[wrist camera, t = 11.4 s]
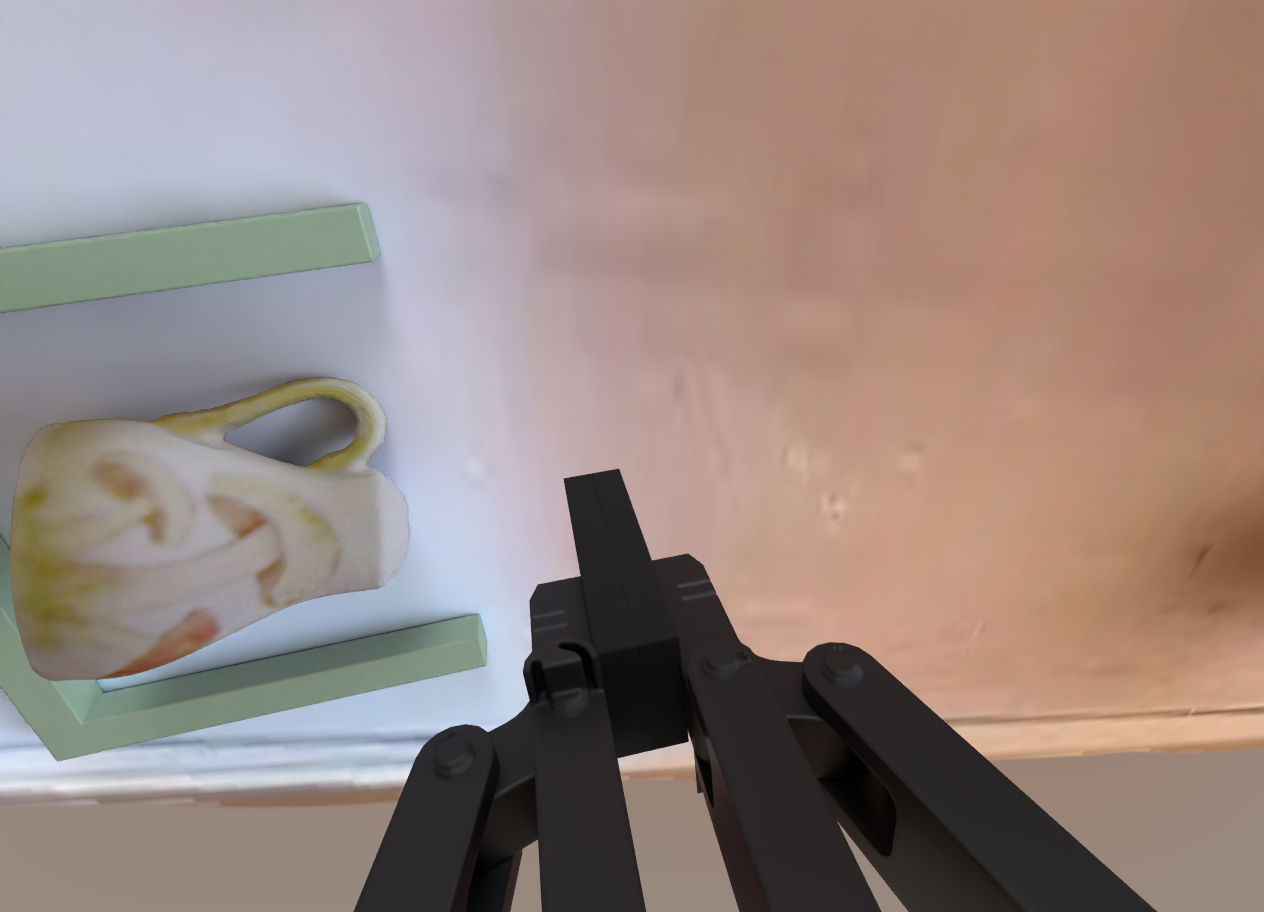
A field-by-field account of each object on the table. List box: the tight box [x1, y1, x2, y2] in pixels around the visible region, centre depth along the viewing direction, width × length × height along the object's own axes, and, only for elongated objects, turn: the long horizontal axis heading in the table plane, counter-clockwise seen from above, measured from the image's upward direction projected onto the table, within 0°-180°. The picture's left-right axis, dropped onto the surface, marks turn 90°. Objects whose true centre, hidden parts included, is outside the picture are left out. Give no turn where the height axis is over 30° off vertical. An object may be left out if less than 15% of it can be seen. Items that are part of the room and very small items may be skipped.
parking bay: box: [0, 203, 487, 761], centre depth 21 cm, size 16×17×2 cm
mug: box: [10, 378, 410, 681], centre depth 19 cm, size 8×10×10 cm
